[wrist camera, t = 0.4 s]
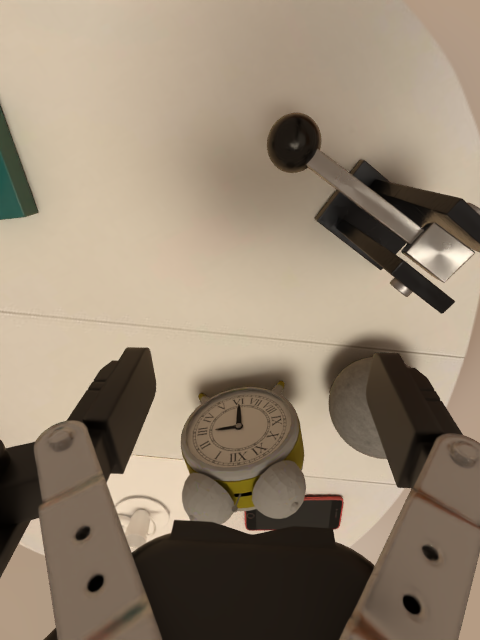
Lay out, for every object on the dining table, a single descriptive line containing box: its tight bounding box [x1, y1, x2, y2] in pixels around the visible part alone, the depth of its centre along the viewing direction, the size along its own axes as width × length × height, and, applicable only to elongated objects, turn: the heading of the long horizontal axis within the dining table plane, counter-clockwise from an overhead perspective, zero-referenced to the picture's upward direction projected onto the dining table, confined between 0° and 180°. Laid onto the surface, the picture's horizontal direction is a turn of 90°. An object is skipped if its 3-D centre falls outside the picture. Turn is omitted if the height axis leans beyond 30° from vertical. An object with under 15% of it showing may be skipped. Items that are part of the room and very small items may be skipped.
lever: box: [267, 113, 475, 282], centre depth 21 cm, size 14×3×3 cm, turn 55°
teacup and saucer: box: [115, 497, 170, 548], centre depth 48 cm, size 9×8×4 cm
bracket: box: [315, 160, 480, 313], centre depth 25 cm, size 8×6×14 cm
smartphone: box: [244, 496, 343, 530], centre depth 50 cm, size 7×1×14 cm
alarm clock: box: [181, 381, 306, 525], centre depth 34 cm, size 12×7×15 cm, turn 101°
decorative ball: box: [329, 357, 411, 459], centre depth 35 cm, size 10×10×10 cm
